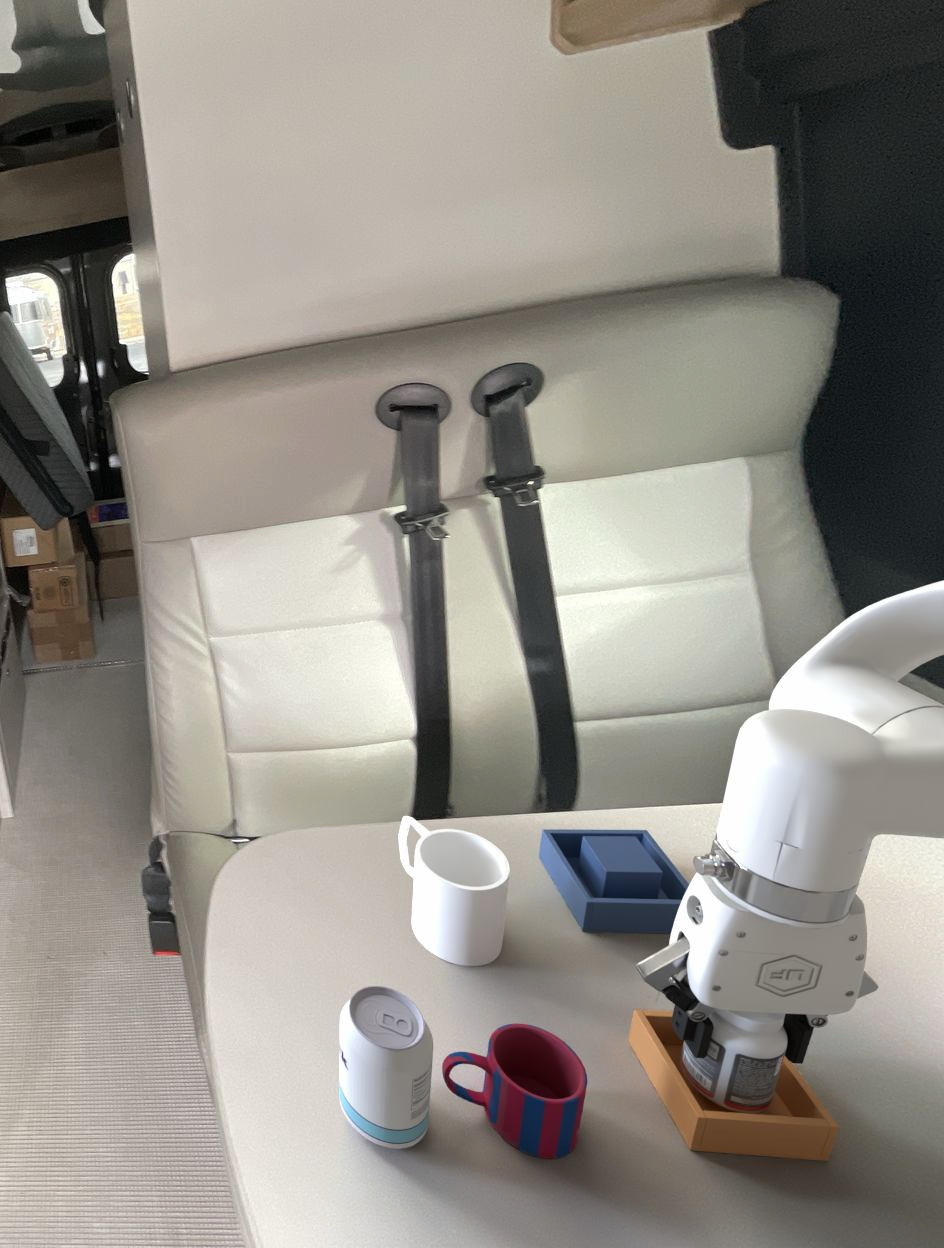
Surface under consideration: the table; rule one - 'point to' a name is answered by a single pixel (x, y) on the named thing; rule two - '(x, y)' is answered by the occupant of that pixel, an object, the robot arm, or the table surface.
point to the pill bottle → (739, 1060)
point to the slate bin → (611, 913)
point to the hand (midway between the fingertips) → (735, 1042)
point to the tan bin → (705, 1126)
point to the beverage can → (385, 1067)
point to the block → (618, 868)
